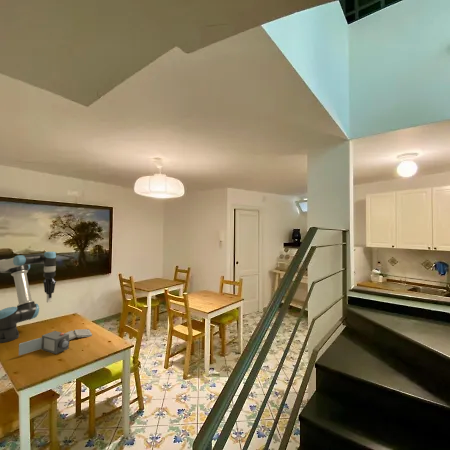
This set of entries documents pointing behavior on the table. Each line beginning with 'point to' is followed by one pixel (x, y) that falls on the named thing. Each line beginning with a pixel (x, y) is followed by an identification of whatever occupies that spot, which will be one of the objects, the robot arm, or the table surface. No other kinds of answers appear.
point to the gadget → (79, 333)
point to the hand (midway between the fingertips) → (49, 302)
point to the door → (30, 346)
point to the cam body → (55, 342)
